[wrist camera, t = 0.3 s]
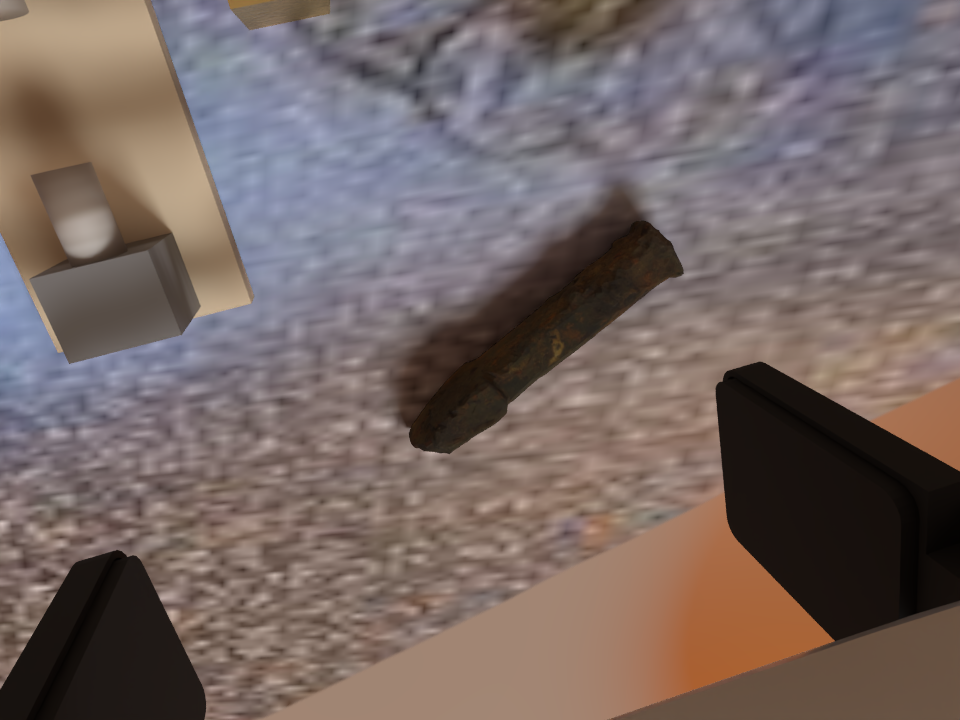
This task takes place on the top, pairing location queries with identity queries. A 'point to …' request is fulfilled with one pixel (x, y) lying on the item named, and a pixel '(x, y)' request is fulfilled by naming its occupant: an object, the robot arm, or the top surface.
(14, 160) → the shaft mount
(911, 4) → the top surface
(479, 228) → the top surface
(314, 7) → the yellow rectangular block
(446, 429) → the hand tool
